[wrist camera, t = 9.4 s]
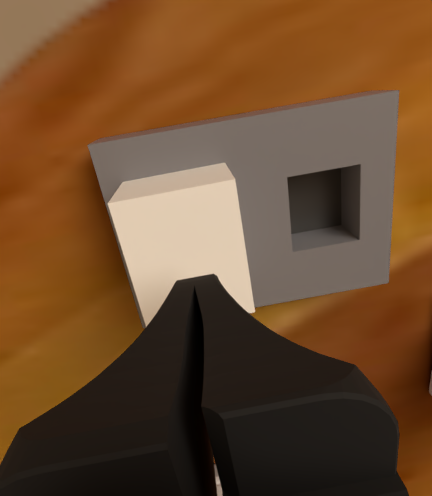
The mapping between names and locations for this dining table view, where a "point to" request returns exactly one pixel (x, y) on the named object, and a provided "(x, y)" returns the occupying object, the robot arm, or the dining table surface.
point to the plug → (182, 233)
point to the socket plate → (286, 187)
